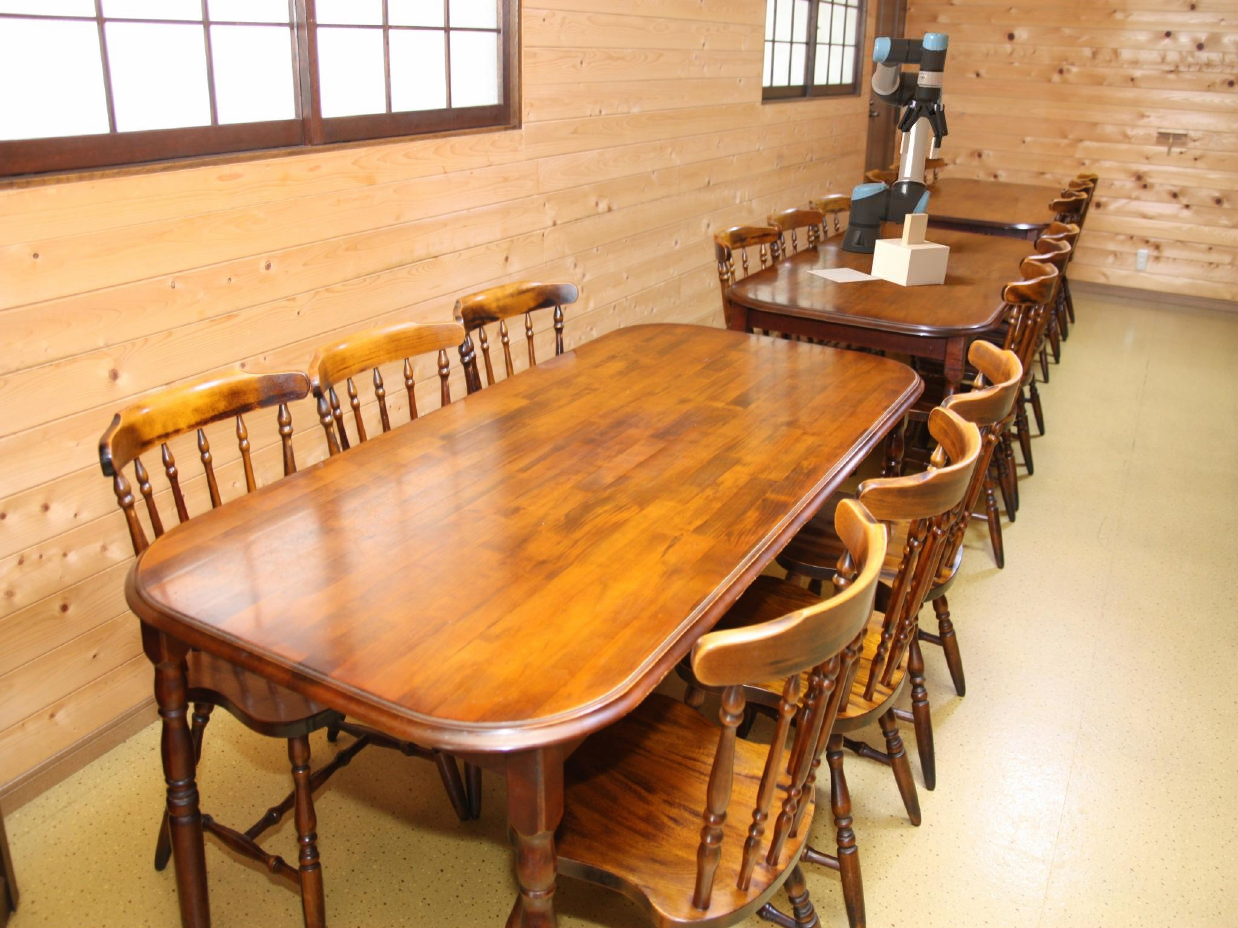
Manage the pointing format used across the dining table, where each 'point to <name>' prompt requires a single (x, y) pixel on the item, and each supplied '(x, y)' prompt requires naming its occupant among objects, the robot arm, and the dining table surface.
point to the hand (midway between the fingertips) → (918, 156)
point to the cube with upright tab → (911, 256)
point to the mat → (843, 275)
